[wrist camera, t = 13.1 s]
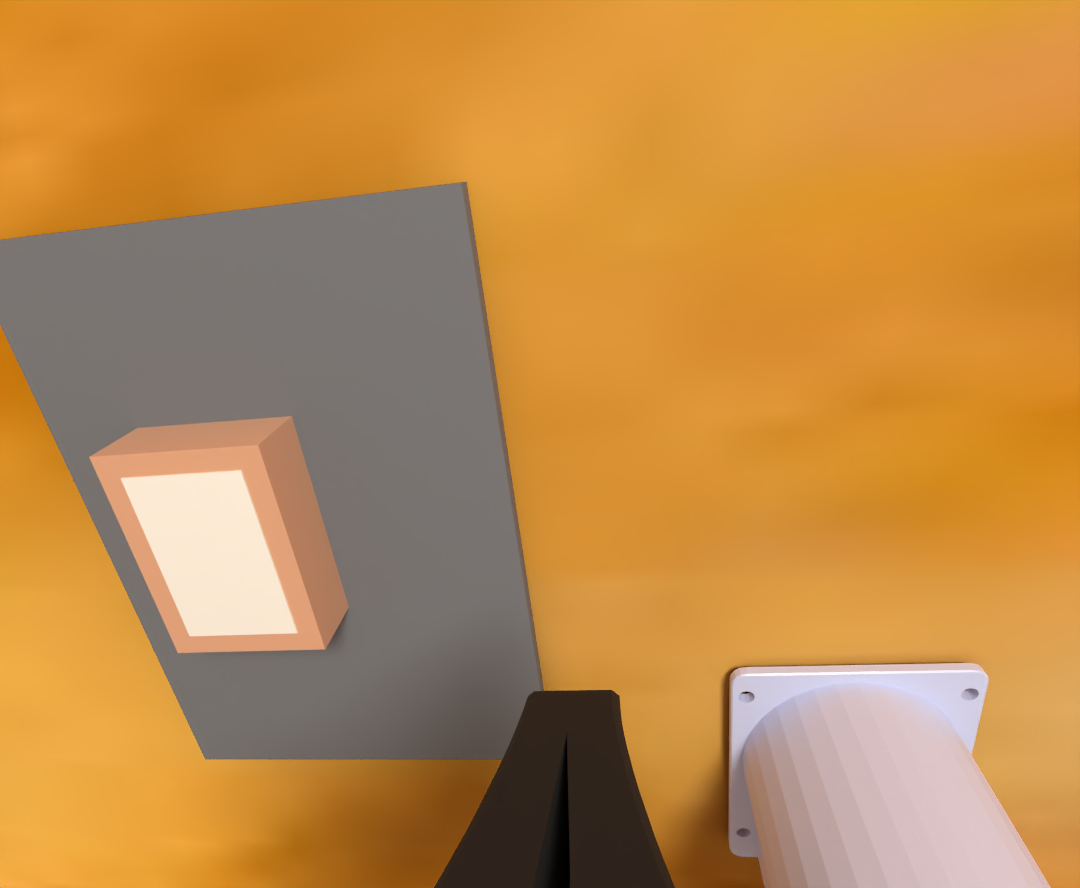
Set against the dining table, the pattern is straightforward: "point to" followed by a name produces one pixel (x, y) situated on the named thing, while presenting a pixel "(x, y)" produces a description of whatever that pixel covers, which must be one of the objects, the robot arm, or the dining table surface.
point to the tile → (226, 534)
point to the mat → (310, 450)
